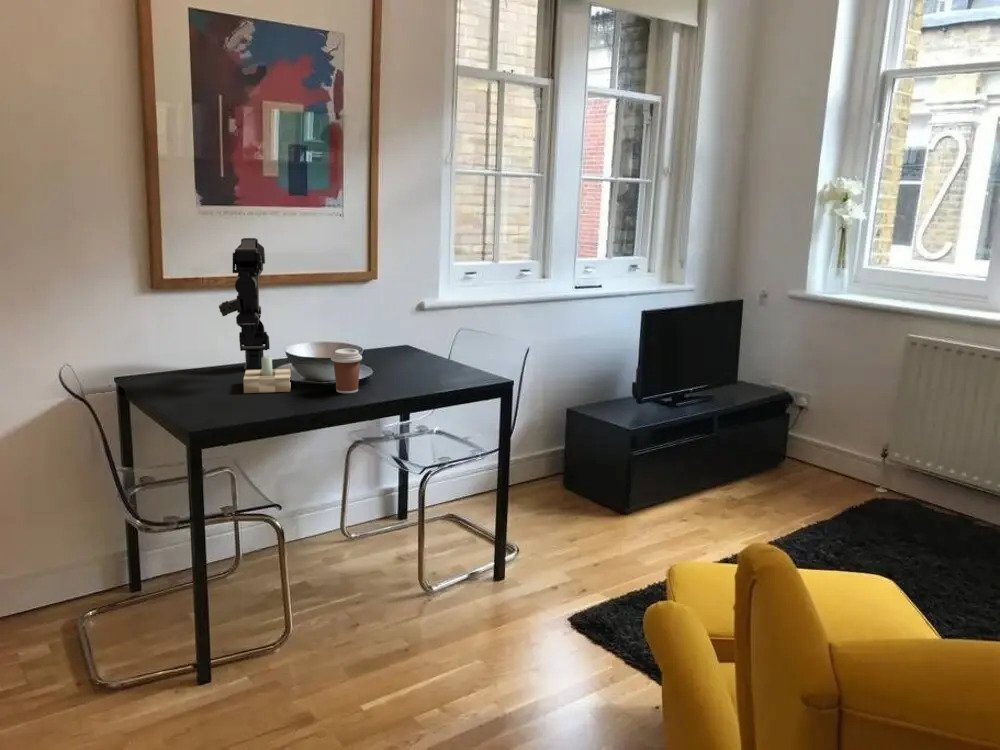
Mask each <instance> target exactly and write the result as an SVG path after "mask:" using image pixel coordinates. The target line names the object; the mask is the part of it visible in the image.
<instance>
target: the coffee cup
mask: <svg viewBox="0 0 1000 750" xmlns="http://www.w3.org/2000/svg"><path fill="white" fill-rule="evenodd" d="M330 360H331V361H332V362H333V371H334V380H335V390H336V392H337V393H339V394H355V393H357V392H359V384H360V383H359V381H360V369H361V368H360V365H361V361H363V356H362V355H361V354H360V352H359V350H358V349H355V348H339V349H336V350H334V354H333V355H331V356H330Z"/></svg>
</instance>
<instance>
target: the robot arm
mask: <svg viewBox="0 0 1000 750" xmlns="http://www.w3.org/2000/svg"><path fill="white" fill-rule="evenodd" d="M240 241H241V242H240V244H239V245H238V246H237V248H235V249H234V252H232V274H237V275H236V277H237V279H236V281H235V283H234V287H235V291H236V292H237V293H238V294H237V295H236V298H235V299H231V300H226V301H222V302H221V303H220V304H219V305H218V309H219V312H220V313H221V317H226V316H228V315H229V314H232V313H235V312H237V315H236V317H235V319H236V320H235V321H236V322H235V323H236V324H237V326H238V327H240V328H241V329H240V330H241V331H240V332H239V333H238V335H239V337H238V339H239V350H240V352H243V351H244V353H245V354H244V355H245V357H244V358H245V364H244V368H243V370H244V371H246V370H260V369H262V360H261V358H262V357H265V355H264V351H268V350H270V348H271V347H270V336H269V335H268V333H267V331H265V325H264V324H263V322H262V321H261V315H262V307H261V306H260V292H259V291H260V289H259V288H260V286H259V283H260V282H259V277H261V274H262V273H263V271H264V264H265V265H266V252H265V247H264V246H263V245H262V244H260V243H259V241H258V238H256V237H243V238H241V240H240Z"/></svg>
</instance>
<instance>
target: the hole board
mask: <svg viewBox="0 0 1000 750" xmlns="http://www.w3.org/2000/svg"><path fill="white" fill-rule="evenodd" d="M272 372H273V376H262V369H260V370H245V372H244V376H243V383H242V384H243V394H254V393H255V394H259V393H260V394H261V393H280V392H281V393H282V392H283V393H284V392H285V393H286V392H287V393H288V392H291V383H292V381H291V382H290V377H291V368H272Z"/></svg>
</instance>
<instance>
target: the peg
mask: <svg viewBox="0 0 1000 750" xmlns="http://www.w3.org/2000/svg"><path fill="white" fill-rule="evenodd" d="M261 360H262V376H273V372H272V369H273V357H272V356H264V357H262V358H261Z"/></svg>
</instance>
